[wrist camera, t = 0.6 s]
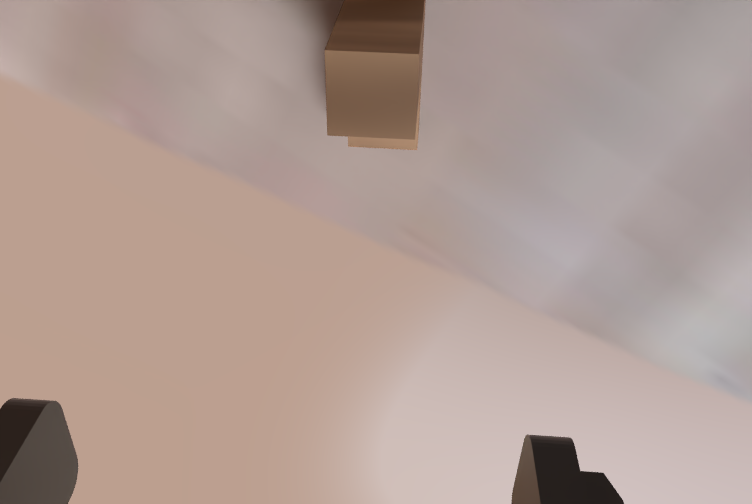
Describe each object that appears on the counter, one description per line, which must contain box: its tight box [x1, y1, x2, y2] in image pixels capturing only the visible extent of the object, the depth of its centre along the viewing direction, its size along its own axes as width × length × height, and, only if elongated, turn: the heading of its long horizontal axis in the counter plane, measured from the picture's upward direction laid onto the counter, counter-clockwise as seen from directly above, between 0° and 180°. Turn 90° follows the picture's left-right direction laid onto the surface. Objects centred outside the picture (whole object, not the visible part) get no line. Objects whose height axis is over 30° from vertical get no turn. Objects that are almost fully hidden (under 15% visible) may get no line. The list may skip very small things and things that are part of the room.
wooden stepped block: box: [325, 0, 425, 150], centre depth 27 cm, size 10×3×8 cm, turn 179°
